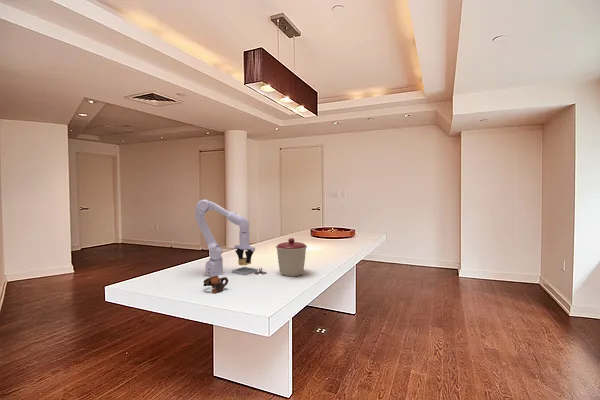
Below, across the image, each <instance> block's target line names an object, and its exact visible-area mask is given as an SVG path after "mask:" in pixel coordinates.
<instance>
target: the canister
mask: <svg viewBox="0 0 600 400" xmlns="http://www.w3.org/2000/svg"><path fill="white" fill-rule="evenodd" d="M275 248H276V253H277V263H278V267H279V272H280V274H281V275H282V276H284V277H299V276H301V275H303V273H304V270H305V260H306V255H307V254H306V253H307V252H306V251H307V248H308V245H307V244H305V243H303V242H298V241H295V239H294V238H293V237H291V238H290V237H289V238H288V241H285V242H281V243H278V244H277V245H275Z"/></svg>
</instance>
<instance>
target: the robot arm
mask: <svg viewBox="0 0 600 400" xmlns="http://www.w3.org/2000/svg"><path fill="white" fill-rule="evenodd" d="M208 211H215V212H217V213H219V214H221V215H223V216H224V217H226V219H227V221H228V222H230V223H232V224H234V225H236V226H238V227H239V233H238V234H239V236H238V238H239V239H238V240H239V242H238V243H239V245H237V244H236V245H234V247H233V248H234V250H235V251H234V252H235V253H236V255H237V258H238V259H240V258H244V254H245V257H246V260H247V263H250V260H251V261H252V257H253V254H254V252H255V251H256V247H254V246H251V245H250V228H249V226H250V221H249V219H247V218H246V217H244V216H242V215H239V214H238V212H237V211H228V210H226V208H224V207H222V206H220V205H218V204H217V203H216V202H213V201H210V200H209V199H201V200H199V201H198V202H197V204H196V206H195V214H194V219H195V221H196V223H197V226H198V228H199V230H200V231H201V234H202V236H203V238H204V240H205V243H206V244H207V248H208V251H209V260H208V261H206V262H205V273H204V275H205V276H207V277H213V276H220V275H223V274H226V273H227V272H225V271H223V270H224V269H223V267H224V265H223V262H224V259H223V256H222V254H223V248H222V247H221V246H220V245H219V244H218V242H217V241H216V239H215V237H214V235H213V233H212V230H211V228H210V226H209V224H208V222H207V219H206V218H205V216H206V214H207V212H208Z"/></svg>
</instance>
